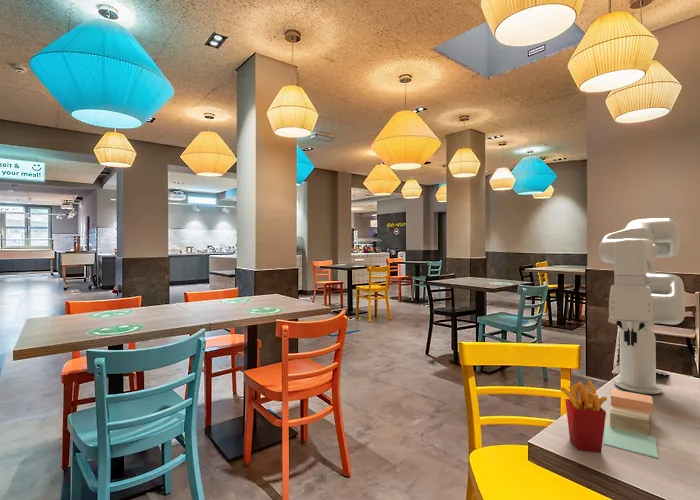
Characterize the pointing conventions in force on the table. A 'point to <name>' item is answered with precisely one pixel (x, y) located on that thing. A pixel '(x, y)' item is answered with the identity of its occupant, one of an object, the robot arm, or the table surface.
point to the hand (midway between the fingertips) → (630, 344)
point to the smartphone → (661, 372)
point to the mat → (630, 441)
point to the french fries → (585, 417)
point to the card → (632, 400)
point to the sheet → (630, 420)
